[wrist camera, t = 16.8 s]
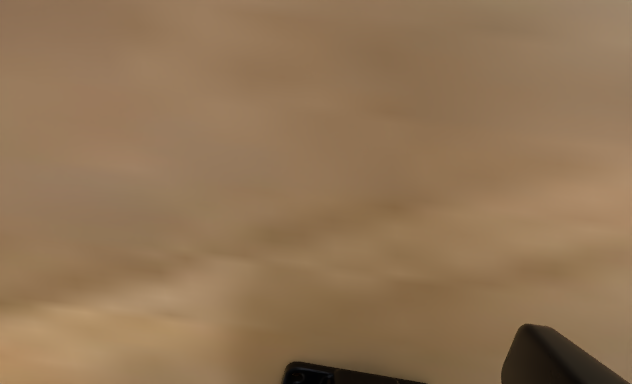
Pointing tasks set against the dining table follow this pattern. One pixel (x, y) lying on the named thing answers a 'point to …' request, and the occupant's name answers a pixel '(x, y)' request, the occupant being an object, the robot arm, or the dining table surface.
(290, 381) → the robot arm
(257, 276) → the dining table surface
